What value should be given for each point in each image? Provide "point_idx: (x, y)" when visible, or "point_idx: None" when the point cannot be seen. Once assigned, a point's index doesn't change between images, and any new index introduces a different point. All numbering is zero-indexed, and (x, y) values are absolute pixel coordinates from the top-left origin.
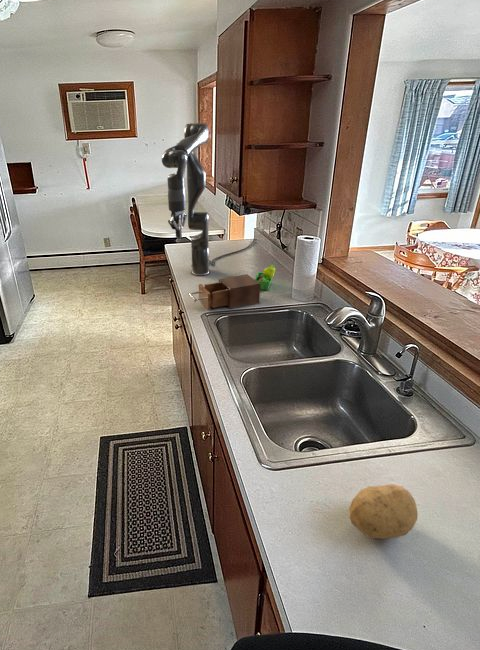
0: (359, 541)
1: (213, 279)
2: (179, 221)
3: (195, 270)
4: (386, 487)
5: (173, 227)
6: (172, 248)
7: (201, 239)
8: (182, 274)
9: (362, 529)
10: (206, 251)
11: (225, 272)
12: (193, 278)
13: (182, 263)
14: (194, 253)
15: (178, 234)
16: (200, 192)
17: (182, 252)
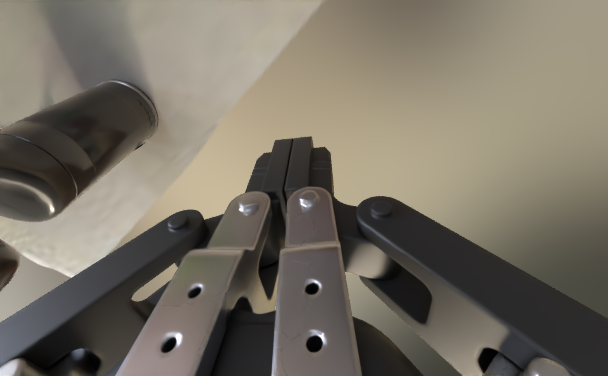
0: None
1: (123, 24)
2: (338, 318)
3: (146, 118)
4: None
5: (400, 270)
6: None
7: (11, 161)
8: (186, 151)
9: None
10: (42, 116)
11: (37, 27)
12: (180, 100)
13: (131, 199)
14: (104, 154)
15: (328, 164)
16: None
17: (85, 240)
